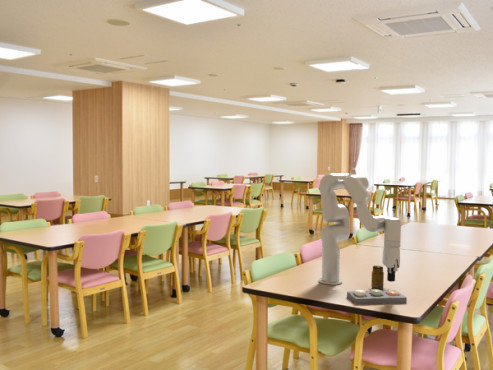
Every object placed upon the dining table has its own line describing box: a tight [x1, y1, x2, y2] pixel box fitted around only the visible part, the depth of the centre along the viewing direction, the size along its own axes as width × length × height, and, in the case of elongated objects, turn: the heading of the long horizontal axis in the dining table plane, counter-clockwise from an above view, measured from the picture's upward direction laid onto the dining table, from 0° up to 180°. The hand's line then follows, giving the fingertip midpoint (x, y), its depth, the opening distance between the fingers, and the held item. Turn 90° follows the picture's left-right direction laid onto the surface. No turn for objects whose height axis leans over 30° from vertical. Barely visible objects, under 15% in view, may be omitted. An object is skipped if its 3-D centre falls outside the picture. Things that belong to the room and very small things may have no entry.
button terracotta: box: [387, 290, 399, 296], centre depth 222 cm, size 5×5×2 cm
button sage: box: [370, 289, 382, 296], centre depth 221 cm, size 5×5×2 cm
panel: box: [346, 289, 408, 305], centre depth 221 cm, size 12×25×2 cm, turn 97°
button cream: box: [354, 289, 366, 297], centre depth 220 cm, size 5×5×2 cm
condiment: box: [368, 265, 390, 291], centre depth 239 cm, size 7×8×12 cm
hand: (391, 280), depth 222 cm, fingers closed
